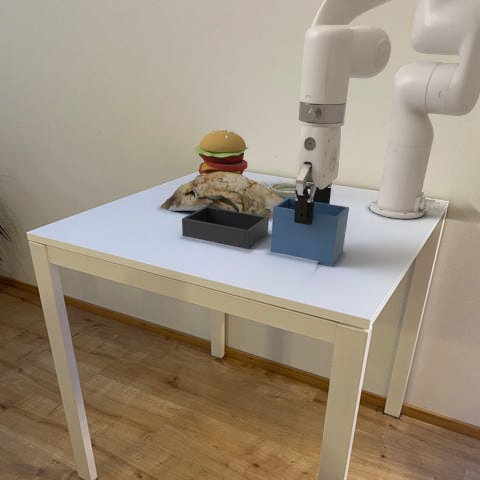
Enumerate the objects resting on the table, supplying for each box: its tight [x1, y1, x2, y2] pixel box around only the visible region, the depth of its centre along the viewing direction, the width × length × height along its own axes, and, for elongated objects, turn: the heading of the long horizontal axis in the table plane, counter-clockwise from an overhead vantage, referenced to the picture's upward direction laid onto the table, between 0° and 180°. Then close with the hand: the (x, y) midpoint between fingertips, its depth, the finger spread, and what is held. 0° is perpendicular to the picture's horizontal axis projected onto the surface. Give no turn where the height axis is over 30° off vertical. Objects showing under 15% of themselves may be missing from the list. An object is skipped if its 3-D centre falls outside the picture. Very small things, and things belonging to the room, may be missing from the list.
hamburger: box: [193, 129, 249, 175], centre depth 124 cm, size 16×14×15 cm
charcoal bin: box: [181, 206, 270, 250], centre depth 96 cm, size 15×10×4 cm, turn 64°
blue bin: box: [270, 198, 350, 267], centre depth 88 cm, size 12×7×9 cm, turn 64°
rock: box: [160, 172, 285, 219], centre depth 110 cm, size 16×10×30 cm
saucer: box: [270, 182, 309, 200], centre depth 123 cm, size 10×10×2 cm
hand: (312, 215), depth 87 cm, fingers open, 9 cm apart
